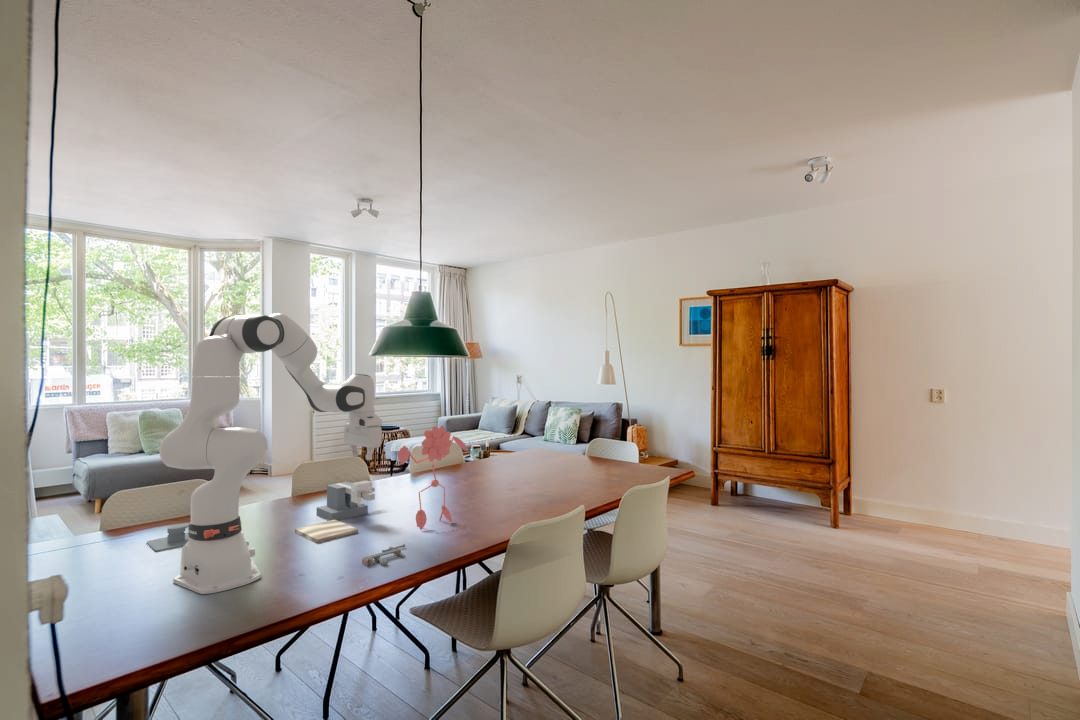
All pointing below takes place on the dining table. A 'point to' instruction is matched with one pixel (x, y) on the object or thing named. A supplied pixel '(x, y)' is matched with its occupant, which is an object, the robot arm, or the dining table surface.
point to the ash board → (326, 531)
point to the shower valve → (171, 538)
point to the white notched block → (360, 490)
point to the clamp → (383, 561)
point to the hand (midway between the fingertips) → (361, 458)
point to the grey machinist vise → (343, 503)
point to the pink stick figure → (435, 448)
